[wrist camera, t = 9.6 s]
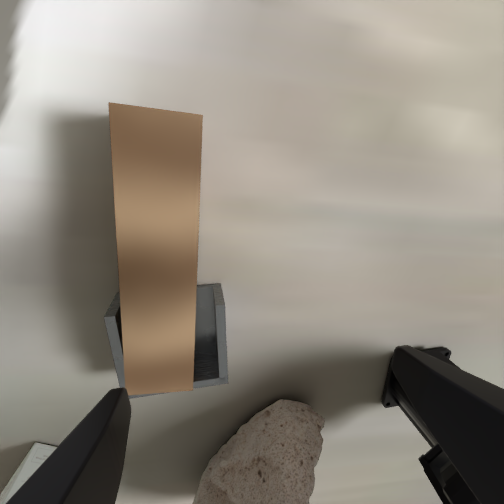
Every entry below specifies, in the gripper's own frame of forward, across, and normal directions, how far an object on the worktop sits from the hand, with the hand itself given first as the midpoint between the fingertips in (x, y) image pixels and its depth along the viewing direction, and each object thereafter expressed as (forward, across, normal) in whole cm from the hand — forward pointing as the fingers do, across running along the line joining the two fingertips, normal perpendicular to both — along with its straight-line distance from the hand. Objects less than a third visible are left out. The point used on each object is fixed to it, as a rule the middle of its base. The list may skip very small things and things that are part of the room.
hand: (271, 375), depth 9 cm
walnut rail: (+11, +4, -1) cm, 12 cm away
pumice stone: (+12, -1, +20) cm, 23 cm away
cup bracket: (+12, +5, +6) cm, 14 cm away
